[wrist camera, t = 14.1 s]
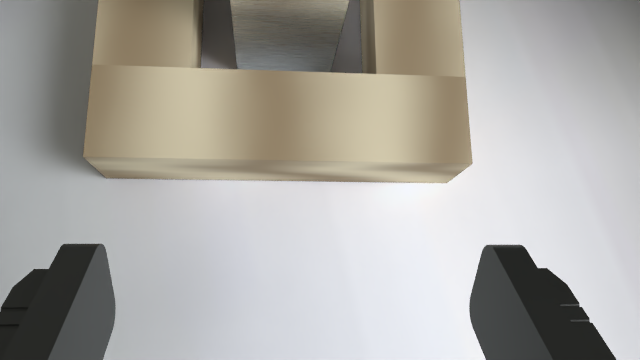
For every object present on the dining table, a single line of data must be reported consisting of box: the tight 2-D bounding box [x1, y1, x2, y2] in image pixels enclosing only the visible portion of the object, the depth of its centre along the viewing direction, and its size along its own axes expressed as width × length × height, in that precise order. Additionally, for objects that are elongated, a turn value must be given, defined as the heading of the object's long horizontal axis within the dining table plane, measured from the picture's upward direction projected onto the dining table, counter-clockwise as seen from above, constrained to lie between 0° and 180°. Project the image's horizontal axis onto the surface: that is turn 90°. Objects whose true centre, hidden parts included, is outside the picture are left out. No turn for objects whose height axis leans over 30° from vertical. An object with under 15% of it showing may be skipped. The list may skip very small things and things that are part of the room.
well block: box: [83, 0, 472, 183], centre depth 23 cm, size 14×14×3 cm
